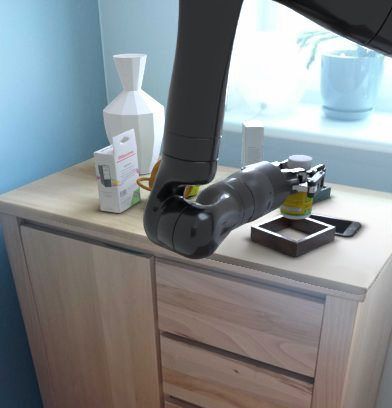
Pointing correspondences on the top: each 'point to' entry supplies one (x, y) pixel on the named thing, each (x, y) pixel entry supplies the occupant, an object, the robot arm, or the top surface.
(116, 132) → the vase
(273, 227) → the frame
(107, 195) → the ink box
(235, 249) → the top surface
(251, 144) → the cosmetic box
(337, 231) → the smartphone
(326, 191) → the tray
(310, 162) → the supplement bottle
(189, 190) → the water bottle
